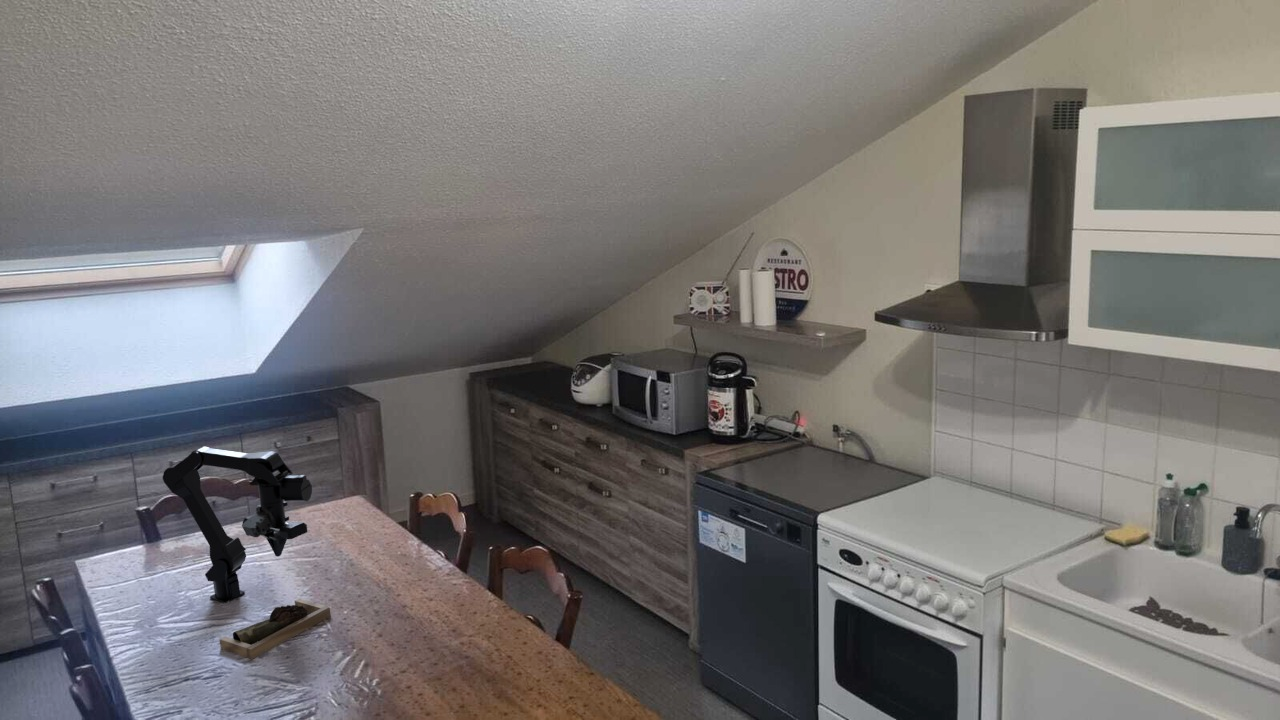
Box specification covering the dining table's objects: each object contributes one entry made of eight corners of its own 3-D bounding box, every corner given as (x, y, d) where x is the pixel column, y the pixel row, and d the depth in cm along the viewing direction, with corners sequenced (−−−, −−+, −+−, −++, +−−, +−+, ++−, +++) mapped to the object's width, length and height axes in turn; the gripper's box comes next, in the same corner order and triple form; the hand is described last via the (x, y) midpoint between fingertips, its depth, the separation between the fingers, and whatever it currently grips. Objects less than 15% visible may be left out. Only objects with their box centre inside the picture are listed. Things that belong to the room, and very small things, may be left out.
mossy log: (242, 652, 227) (239, 631, 226) (230, 643, 232) (227, 622, 231) (312, 625, 239) (309, 604, 238) (299, 617, 244) (297, 597, 243)
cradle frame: (220, 648, 229) (219, 639, 228) (300, 607, 249) (299, 598, 249) (252, 659, 223) (250, 649, 223) (330, 615, 244) (329, 606, 243)
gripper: (221, 505, 247) (229, 561, 250) (270, 515, 238) (277, 574, 241) (257, 491, 257) (264, 546, 260) (305, 501, 248) (312, 557, 251)
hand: (278, 555), depth 253 cm, fingers closed
